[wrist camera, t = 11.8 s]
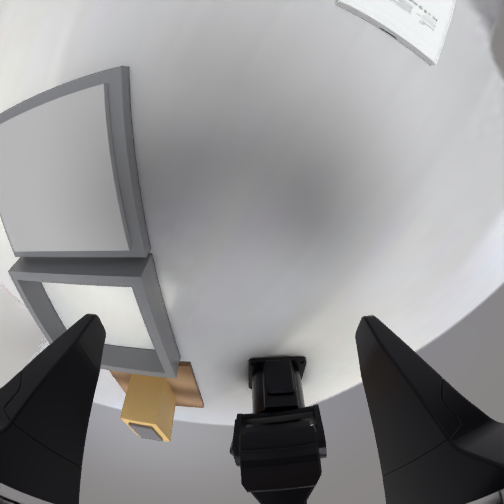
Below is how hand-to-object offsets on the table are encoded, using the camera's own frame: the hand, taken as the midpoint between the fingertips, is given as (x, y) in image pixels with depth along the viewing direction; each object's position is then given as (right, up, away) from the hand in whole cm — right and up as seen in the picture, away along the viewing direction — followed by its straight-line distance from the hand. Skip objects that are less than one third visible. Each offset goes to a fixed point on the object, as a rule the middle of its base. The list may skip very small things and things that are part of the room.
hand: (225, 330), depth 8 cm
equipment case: (-15, +3, +12) cm, 20 cm away
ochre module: (-12, -16, +24) cm, 31 cm away
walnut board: (-12, -15, +24) cm, 31 cm away
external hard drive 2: (+12, +23, +1) cm, 26 cm away
